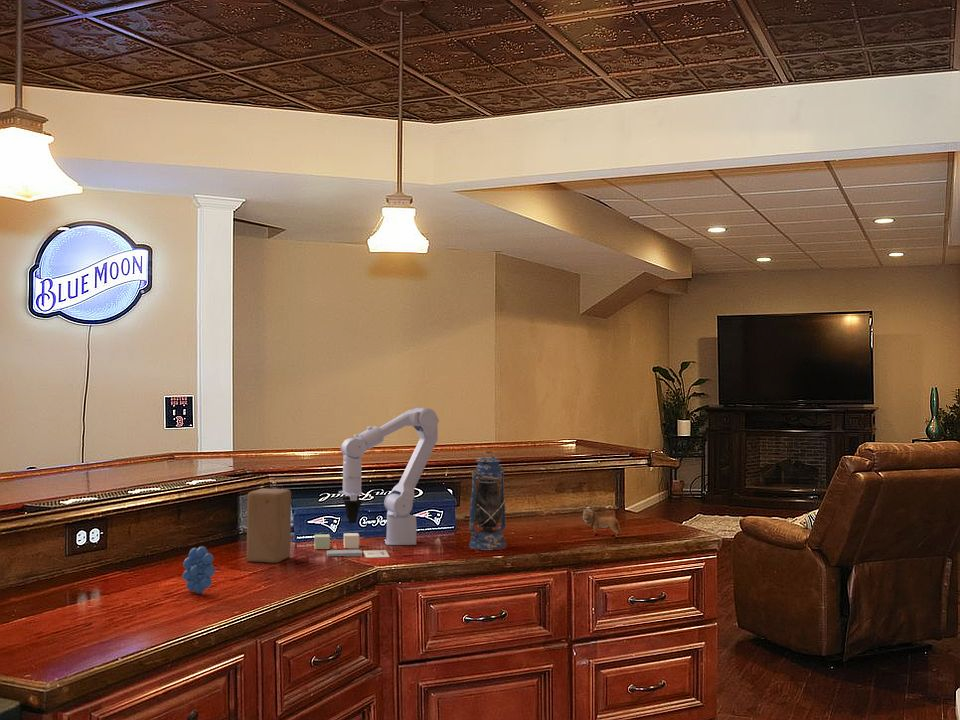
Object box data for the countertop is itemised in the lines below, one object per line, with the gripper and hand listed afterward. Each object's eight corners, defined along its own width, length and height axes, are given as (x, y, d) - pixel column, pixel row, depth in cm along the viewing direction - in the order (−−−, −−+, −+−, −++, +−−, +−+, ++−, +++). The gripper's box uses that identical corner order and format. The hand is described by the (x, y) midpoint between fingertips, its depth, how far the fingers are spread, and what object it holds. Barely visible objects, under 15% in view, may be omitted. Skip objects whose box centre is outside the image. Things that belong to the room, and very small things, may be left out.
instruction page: (385, 550, 304) (386, 549, 304) (389, 557, 295) (389, 556, 295) (362, 551, 303) (363, 550, 303) (365, 557, 293) (365, 556, 293)
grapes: (227, 594, 247) (228, 546, 247) (204, 599, 241) (205, 550, 241) (198, 587, 254) (199, 540, 254) (175, 591, 249) (176, 543, 249)
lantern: (483, 553, 303) (484, 454, 302) (456, 547, 311) (457, 451, 311) (518, 547, 313) (520, 451, 313) (491, 541, 322) (492, 448, 322)
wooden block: (277, 564, 283) (278, 493, 283) (245, 562, 285) (246, 492, 285) (291, 557, 293) (292, 489, 293) (259, 555, 295) (260, 487, 295)
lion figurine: (580, 536, 334) (580, 509, 334) (584, 533, 339) (584, 507, 339) (623, 539, 329) (624, 512, 329) (627, 536, 334) (627, 509, 334)
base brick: (360, 554, 301) (360, 549, 301) (361, 557, 296) (361, 552, 296) (326, 555, 299) (326, 550, 299) (327, 558, 294) (327, 553, 294)
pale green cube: (329, 547, 310) (329, 534, 310) (329, 549, 305) (329, 536, 305) (314, 547, 309) (314, 534, 309) (314, 550, 304) (315, 537, 304)
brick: (357, 545, 312) (358, 533, 312) (359, 548, 308) (359, 535, 308) (343, 546, 312) (343, 533, 312) (344, 548, 307) (344, 535, 307)
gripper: (337, 474, 316) (337, 517, 316) (340, 480, 302) (339, 525, 302) (360, 474, 317) (359, 516, 317) (364, 479, 303) (363, 524, 303)
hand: (351, 520), depth 310 cm, fingers open, 7 cm apart
